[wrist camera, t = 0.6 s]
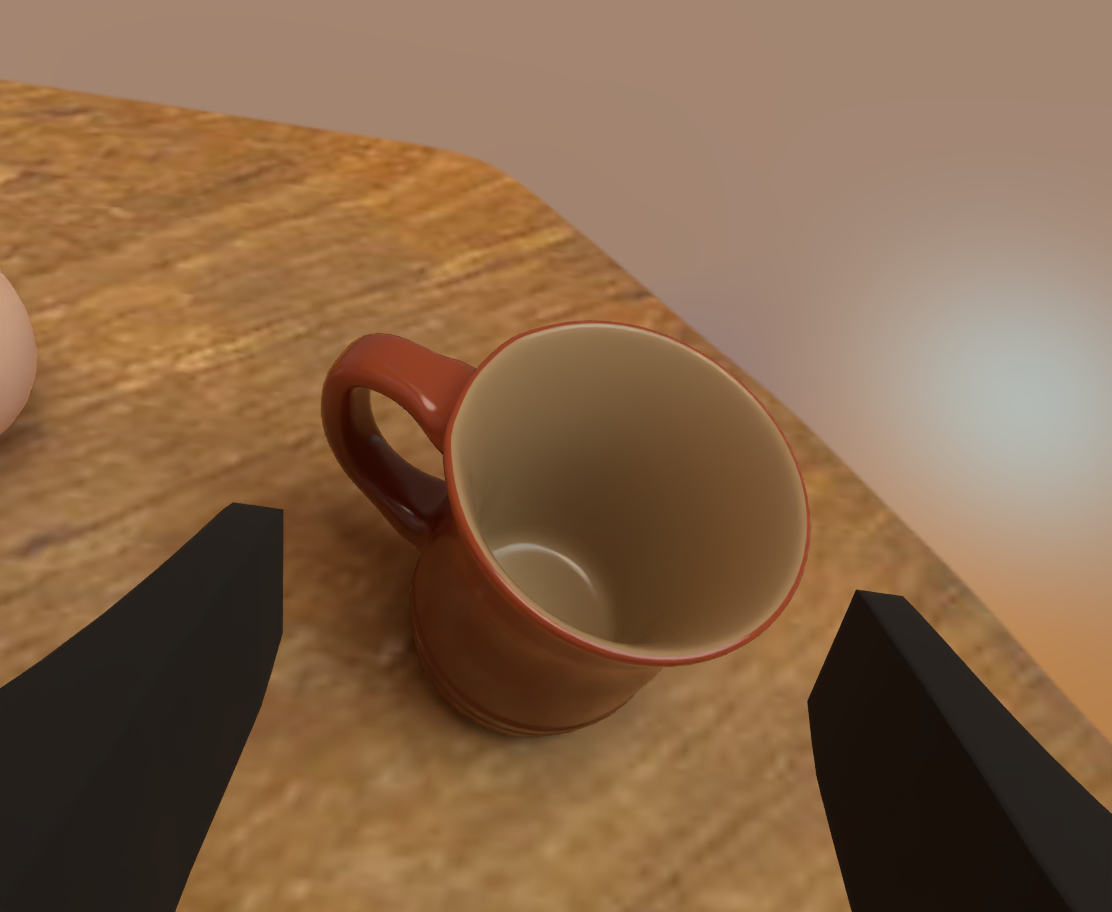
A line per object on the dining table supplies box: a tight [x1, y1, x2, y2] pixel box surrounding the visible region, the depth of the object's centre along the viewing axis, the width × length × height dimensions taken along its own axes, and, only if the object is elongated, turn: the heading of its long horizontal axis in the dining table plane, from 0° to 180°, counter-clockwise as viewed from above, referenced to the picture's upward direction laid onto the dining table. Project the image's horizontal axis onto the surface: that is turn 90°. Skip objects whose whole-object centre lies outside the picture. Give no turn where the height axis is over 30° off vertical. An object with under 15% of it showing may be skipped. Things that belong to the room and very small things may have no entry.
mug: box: [321, 320, 811, 737], centre depth 26 cm, size 12×9×10 cm
